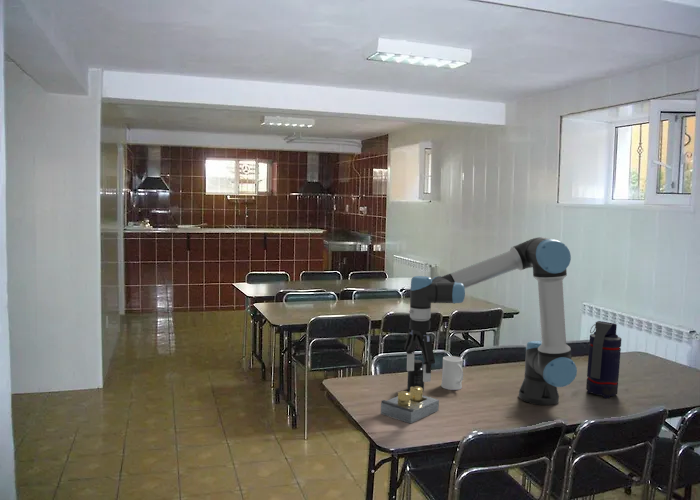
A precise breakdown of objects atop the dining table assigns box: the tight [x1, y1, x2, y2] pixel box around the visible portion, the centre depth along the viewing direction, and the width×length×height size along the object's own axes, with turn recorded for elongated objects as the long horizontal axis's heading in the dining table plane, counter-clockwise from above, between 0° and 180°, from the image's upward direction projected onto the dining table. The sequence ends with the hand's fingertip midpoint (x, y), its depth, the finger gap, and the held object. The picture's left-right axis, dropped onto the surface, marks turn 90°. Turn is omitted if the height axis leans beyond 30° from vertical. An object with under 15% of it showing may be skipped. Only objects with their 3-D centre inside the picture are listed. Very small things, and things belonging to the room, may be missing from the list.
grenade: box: [585, 320, 622, 399], centre depth 239 cm, size 14×12×30 cm
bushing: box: [409, 386, 424, 403], centre depth 215 cm, size 5×5×8 cm
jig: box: [380, 390, 440, 424], centre depth 212 cm, size 13×18×8 cm
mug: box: [440, 355, 464, 391], centre depth 241 cm, size 12×8×12 cm
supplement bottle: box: [406, 359, 425, 392], centre depth 237 cm, size 7×7×12 cm
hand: (418, 376), depth 214 cm, fingers open, 13 cm apart
